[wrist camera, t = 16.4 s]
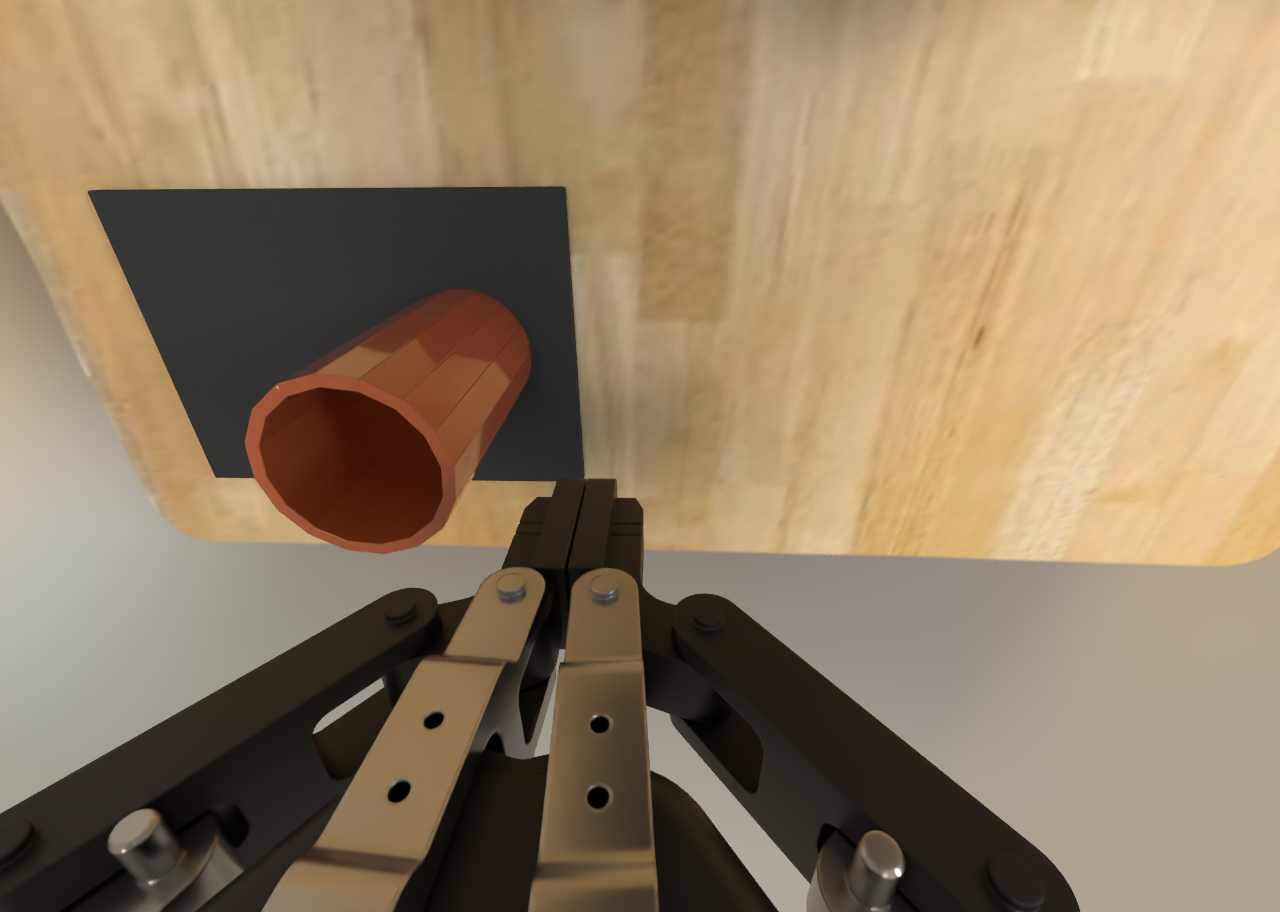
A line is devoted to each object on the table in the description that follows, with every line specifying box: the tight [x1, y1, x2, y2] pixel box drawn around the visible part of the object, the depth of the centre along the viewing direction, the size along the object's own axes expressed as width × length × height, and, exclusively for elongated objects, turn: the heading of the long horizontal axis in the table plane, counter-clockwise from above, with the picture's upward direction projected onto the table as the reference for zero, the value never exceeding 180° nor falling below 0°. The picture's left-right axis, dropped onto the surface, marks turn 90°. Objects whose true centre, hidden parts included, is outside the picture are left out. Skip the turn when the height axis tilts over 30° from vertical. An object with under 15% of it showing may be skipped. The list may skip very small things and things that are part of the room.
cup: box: [245, 288, 532, 554], centre depth 21 cm, size 6×6×11 cm
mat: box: [88, 187, 584, 481], centre depth 26 cm, size 20×14×1 cm
